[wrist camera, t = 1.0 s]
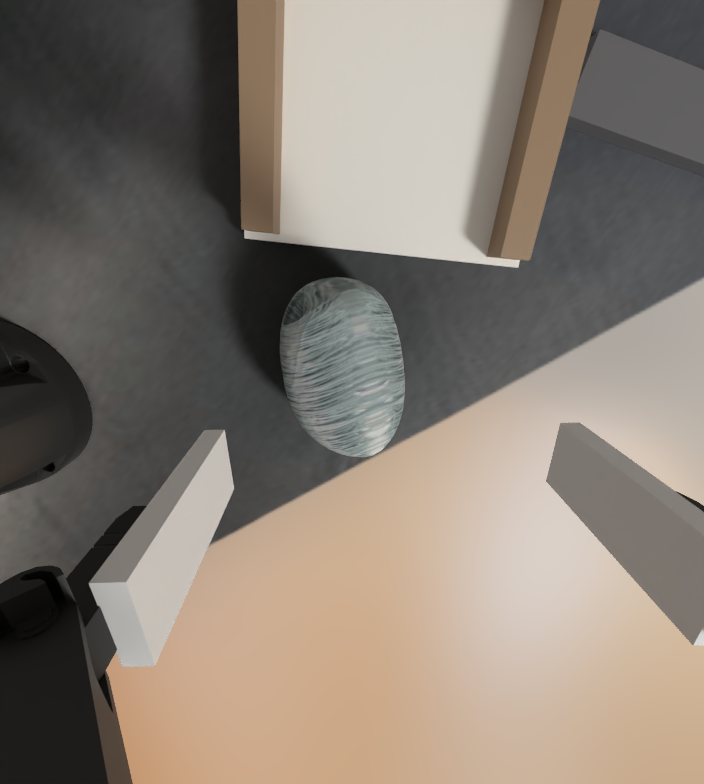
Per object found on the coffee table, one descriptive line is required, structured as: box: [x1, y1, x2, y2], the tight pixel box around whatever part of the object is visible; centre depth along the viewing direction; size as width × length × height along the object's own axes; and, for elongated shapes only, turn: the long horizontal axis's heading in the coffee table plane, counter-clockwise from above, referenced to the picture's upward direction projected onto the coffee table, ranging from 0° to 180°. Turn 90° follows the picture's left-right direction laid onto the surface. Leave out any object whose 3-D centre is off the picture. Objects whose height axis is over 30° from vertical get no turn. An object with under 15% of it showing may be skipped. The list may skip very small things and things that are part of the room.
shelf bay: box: [237, 0, 600, 268], centre depth 22 cm, size 20×16×4 cm
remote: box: [566, 29, 704, 177], centre depth 24 cm, size 4×14×2 cm, turn 75°
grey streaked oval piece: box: [280, 277, 405, 457], centre depth 27 cm, size 14×10×10 cm
